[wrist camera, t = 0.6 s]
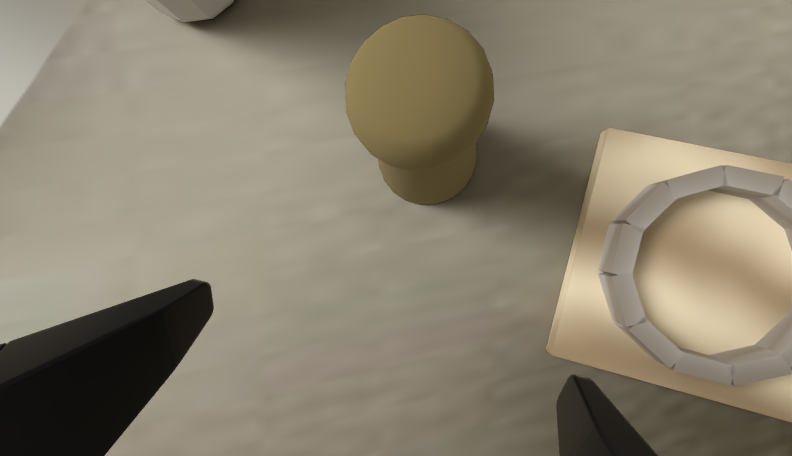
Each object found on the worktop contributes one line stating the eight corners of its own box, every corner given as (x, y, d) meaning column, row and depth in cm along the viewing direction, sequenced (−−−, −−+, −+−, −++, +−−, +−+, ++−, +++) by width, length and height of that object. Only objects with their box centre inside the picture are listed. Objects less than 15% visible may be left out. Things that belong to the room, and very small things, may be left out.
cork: (482, 111, 21) (528, -19, 10) (471, 210, 21) (504, 182, 10) (384, 104, 22) (331, -25, 11) (373, 199, 22) (309, 163, 11)
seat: (790, 417, 19) (843, 444, 17) (545, 349, 21) (560, 364, 18) (851, 183, 19) (913, 175, 16) (600, 133, 21) (623, 118, 18)
